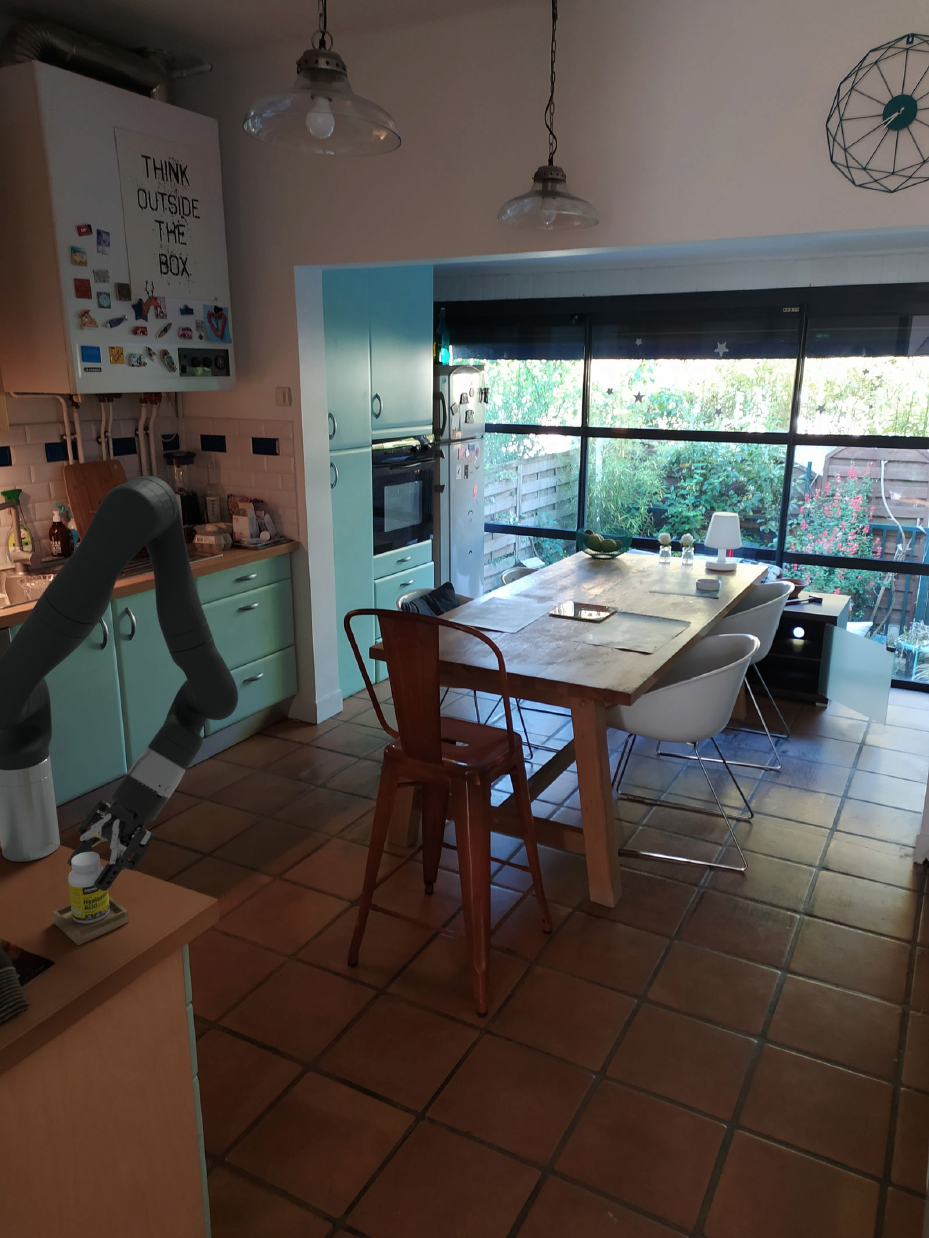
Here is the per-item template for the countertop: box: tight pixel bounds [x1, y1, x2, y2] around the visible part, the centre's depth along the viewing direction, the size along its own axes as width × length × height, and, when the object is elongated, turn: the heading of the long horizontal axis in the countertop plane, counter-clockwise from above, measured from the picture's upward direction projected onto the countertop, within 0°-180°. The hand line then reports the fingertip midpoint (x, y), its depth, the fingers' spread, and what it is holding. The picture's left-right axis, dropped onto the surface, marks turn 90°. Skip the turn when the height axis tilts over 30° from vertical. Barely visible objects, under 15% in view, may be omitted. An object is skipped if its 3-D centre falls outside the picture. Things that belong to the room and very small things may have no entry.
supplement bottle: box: [67, 851, 110, 924], centre depth 139 cm, size 5×5×10 cm
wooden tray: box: [52, 895, 130, 946], centre depth 140 cm, size 8×8×2 cm
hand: (85, 877), depth 138 cm, fingers open, 8 cm apart
